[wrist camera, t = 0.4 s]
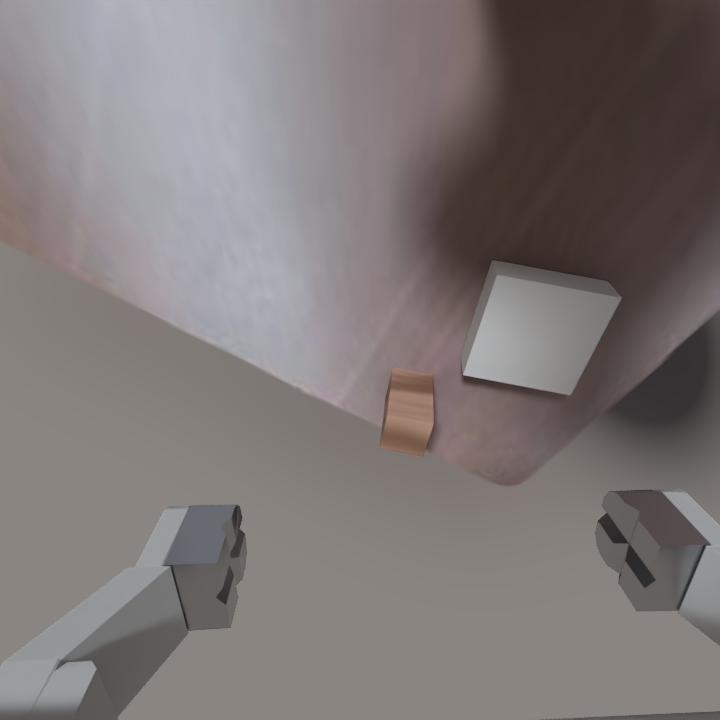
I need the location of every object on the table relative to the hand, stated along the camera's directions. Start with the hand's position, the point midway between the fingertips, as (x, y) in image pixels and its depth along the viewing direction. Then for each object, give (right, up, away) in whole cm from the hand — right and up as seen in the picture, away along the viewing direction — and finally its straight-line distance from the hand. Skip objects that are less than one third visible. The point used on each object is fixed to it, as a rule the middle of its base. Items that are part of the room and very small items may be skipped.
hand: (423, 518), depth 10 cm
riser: (+17, +8, +39) cm, 44 cm away
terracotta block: (+5, 0, +46) cm, 46 cm away
